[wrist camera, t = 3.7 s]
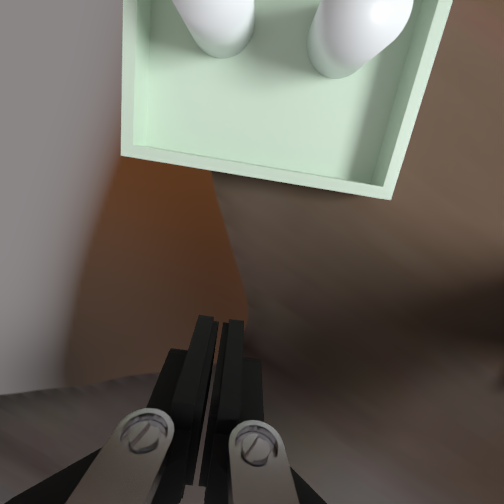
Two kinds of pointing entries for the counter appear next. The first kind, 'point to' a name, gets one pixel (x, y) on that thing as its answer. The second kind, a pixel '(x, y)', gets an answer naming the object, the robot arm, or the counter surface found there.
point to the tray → (273, 99)
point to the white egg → (219, 24)
